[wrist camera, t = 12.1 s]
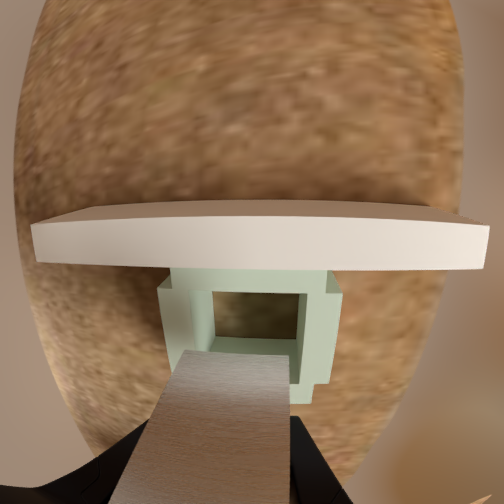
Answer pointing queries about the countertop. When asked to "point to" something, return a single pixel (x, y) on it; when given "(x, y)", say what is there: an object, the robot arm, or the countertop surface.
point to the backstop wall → (264, 236)
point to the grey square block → (215, 435)
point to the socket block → (299, 350)
